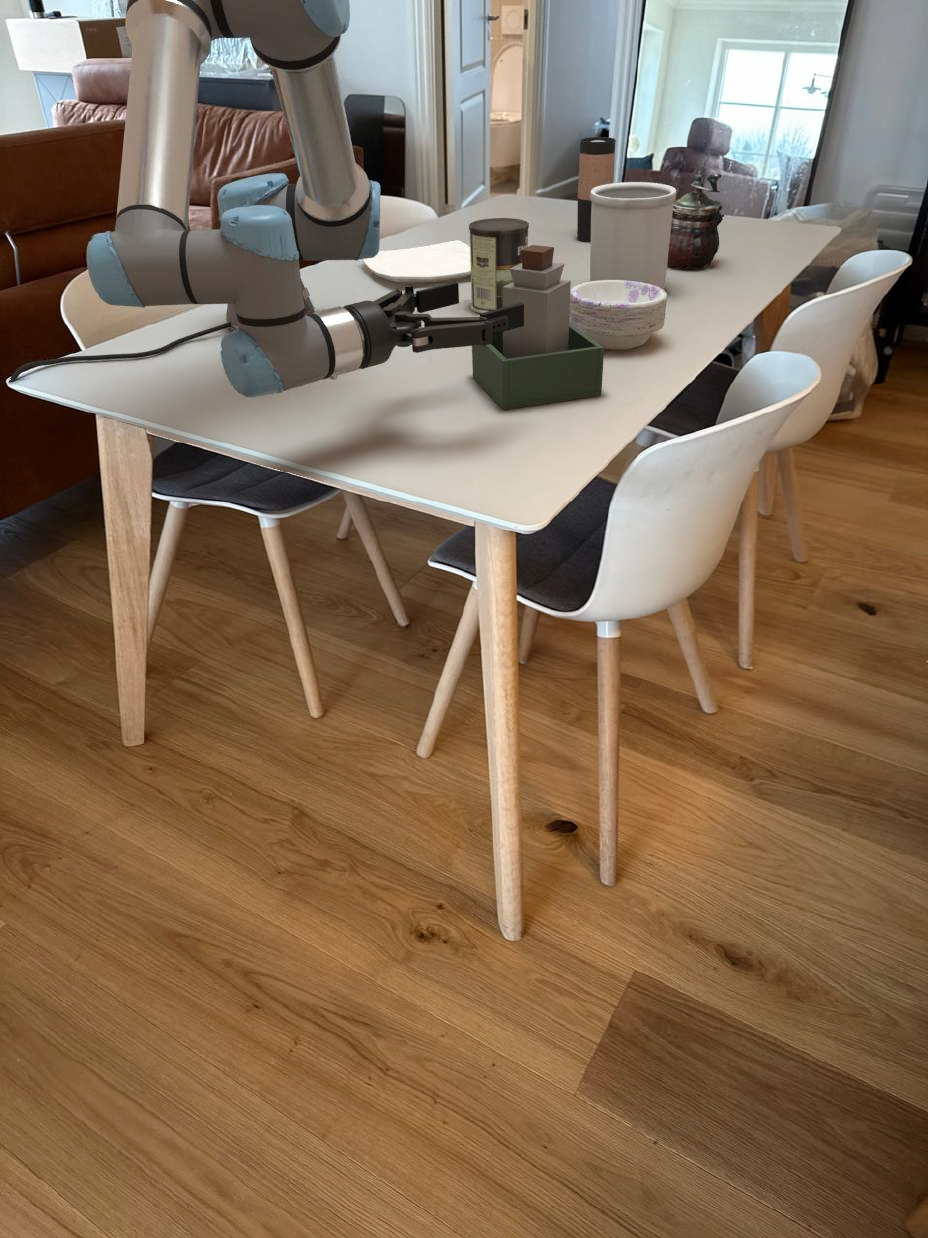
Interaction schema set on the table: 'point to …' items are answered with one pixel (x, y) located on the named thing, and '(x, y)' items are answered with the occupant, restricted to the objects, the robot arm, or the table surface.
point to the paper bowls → (617, 311)
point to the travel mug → (592, 177)
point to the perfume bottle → (538, 305)
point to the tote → (540, 372)
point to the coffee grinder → (695, 227)
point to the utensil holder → (631, 232)
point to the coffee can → (494, 259)
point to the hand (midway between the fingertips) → (488, 303)
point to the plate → (423, 263)
